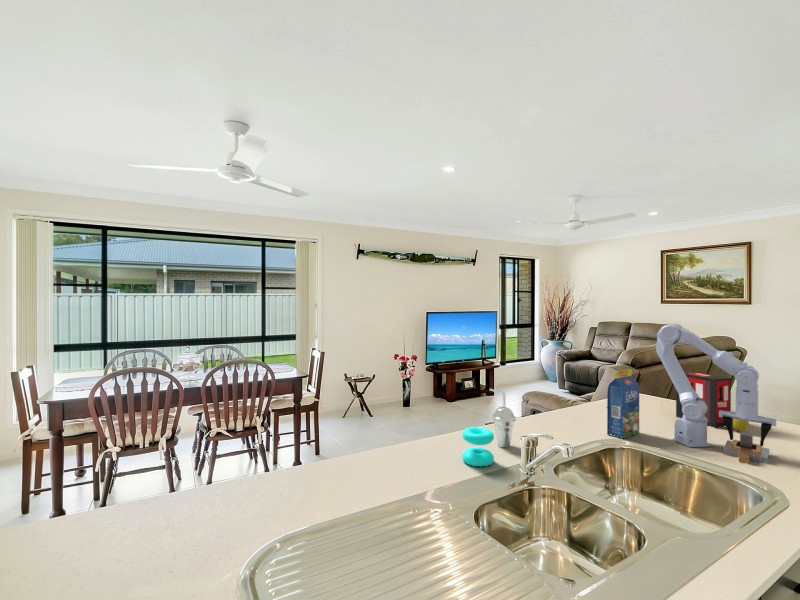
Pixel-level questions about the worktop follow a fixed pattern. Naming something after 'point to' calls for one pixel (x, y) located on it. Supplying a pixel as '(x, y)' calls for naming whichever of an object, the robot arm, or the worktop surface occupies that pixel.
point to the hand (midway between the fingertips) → (746, 442)
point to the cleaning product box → (709, 396)
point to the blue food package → (623, 405)
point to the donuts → (477, 454)
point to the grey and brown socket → (746, 452)
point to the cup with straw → (503, 423)
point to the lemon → (740, 425)
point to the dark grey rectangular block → (746, 440)
